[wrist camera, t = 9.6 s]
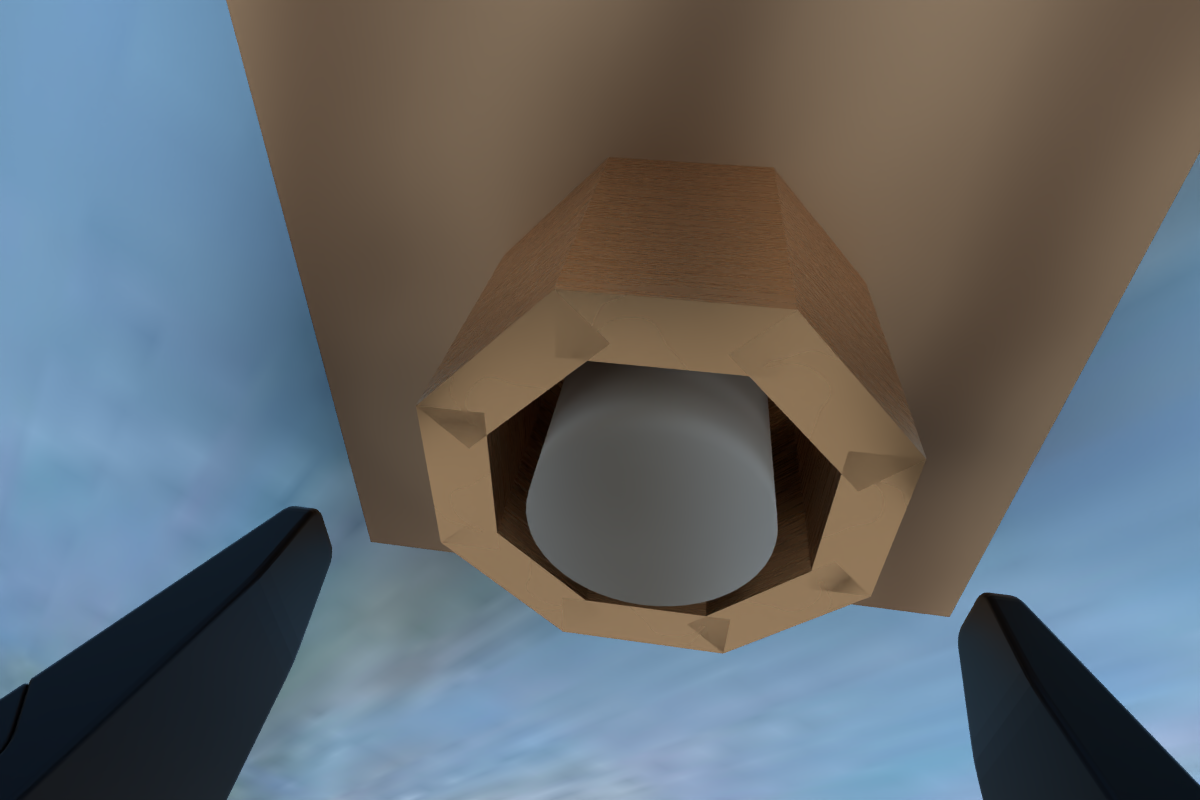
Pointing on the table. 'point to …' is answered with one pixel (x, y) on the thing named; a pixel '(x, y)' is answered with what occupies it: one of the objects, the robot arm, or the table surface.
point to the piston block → (734, 137)
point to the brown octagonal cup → (686, 342)
